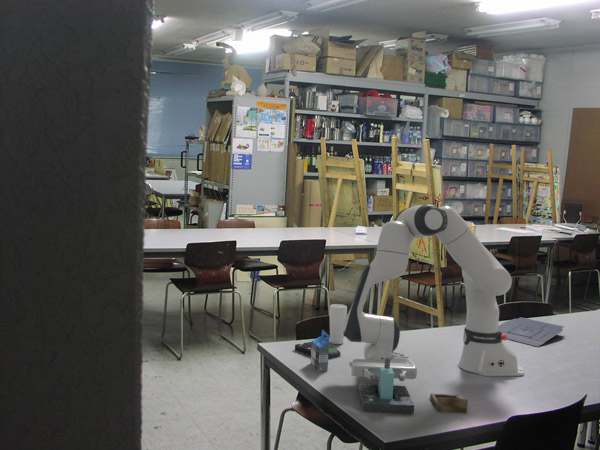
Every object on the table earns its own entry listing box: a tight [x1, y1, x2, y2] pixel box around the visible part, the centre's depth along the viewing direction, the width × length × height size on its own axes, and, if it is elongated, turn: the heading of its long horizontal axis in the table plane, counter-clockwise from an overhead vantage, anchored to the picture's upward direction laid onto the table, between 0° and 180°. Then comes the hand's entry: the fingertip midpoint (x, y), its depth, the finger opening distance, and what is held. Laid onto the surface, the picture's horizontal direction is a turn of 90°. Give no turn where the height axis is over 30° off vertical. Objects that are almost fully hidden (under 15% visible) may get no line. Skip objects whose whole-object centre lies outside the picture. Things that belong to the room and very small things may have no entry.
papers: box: [498, 317, 565, 347], centre depth 276 cm, size 24×30×4 cm
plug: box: [378, 358, 395, 399], centre depth 188 cm, size 4×6×14 cm, turn 0°
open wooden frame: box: [429, 392, 469, 414], centre depth 188 cm, size 8×11×4 cm
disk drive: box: [294, 341, 341, 360], centre depth 234 cm, size 10×3×15 cm
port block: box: [358, 383, 415, 415], centre depth 188 cm, size 14×16×3 cm
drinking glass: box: [329, 303, 348, 345], centre depth 248 cm, size 7×7×15 cm
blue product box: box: [310, 329, 330, 372], centre depth 217 cm, size 9×4×12 cm, turn 16°
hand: (386, 377), depth 188 cm, fingers open, 8 cm apart
